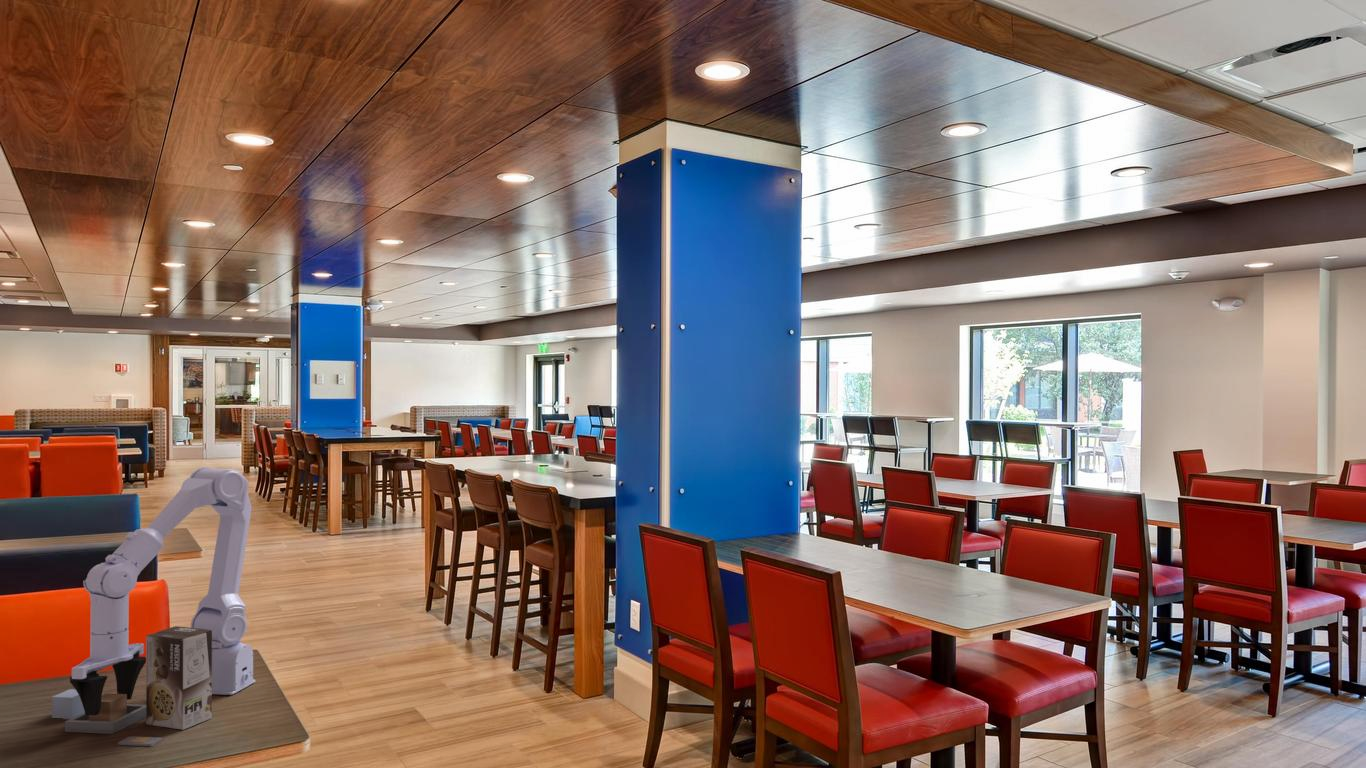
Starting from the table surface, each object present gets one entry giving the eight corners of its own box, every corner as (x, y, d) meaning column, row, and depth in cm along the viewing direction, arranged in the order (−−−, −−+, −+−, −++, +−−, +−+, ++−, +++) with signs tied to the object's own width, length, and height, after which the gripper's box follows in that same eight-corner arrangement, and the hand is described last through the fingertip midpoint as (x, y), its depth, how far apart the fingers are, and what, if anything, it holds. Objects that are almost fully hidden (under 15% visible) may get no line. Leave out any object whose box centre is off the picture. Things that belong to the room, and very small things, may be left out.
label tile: (162, 740, 145) (162, 737, 145) (151, 746, 143) (151, 743, 143) (129, 738, 146) (129, 735, 146) (118, 744, 143) (118, 741, 143)
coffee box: (213, 718, 155) (214, 629, 155) (182, 731, 149) (183, 638, 149) (176, 711, 158) (176, 624, 158) (143, 724, 152) (144, 633, 152)
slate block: (89, 711, 159) (89, 690, 159) (72, 719, 155) (72, 697, 155) (69, 710, 159) (69, 689, 159) (51, 718, 155) (52, 696, 155)
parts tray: (150, 714, 157) (150, 704, 157) (112, 733, 148) (113, 723, 148) (104, 712, 158) (105, 703, 158) (65, 731, 149) (65, 721, 149)
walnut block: (105, 715, 155) (106, 693, 155) (126, 716, 155) (126, 694, 155) (88, 723, 151) (89, 701, 151) (110, 724, 151) (110, 701, 151)
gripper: (98, 642, 145) (98, 722, 145) (159, 620, 160) (158, 693, 160) (60, 641, 146) (59, 721, 146) (124, 619, 161) (123, 691, 160)
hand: (108, 706), depth 153 cm, fingers open, 7 cm apart
